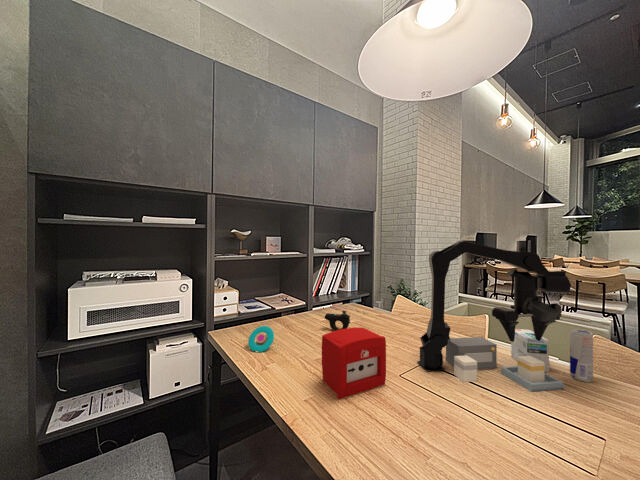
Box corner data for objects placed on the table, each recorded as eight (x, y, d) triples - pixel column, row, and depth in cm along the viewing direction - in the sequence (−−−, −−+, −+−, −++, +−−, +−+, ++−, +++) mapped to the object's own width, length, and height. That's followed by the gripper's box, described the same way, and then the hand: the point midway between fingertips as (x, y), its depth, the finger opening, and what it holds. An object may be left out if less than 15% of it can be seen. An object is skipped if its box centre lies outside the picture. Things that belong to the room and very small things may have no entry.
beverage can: (586, 376, 82) (586, 329, 82) (597, 384, 77) (597, 334, 78) (566, 373, 84) (566, 327, 84) (576, 381, 79) (575, 332, 79)
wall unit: (459, 371, 85) (459, 346, 85) (445, 360, 93) (445, 338, 93) (497, 368, 87) (497, 344, 87) (480, 358, 95) (480, 336, 95)
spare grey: (463, 382, 78) (463, 362, 78) (453, 374, 83) (453, 355, 83) (477, 381, 79) (477, 361, 79) (466, 373, 83) (466, 355, 84)
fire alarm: (340, 400, 69) (340, 344, 69) (321, 381, 78) (321, 332, 78) (386, 385, 76) (386, 335, 76) (364, 369, 86) (364, 324, 86)
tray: (531, 391, 73) (531, 384, 73) (500, 373, 84) (500, 366, 84) (563, 389, 75) (563, 382, 75) (529, 371, 85) (529, 365, 85)
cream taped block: (531, 383, 77) (531, 363, 77) (517, 375, 81) (517, 356, 81) (544, 382, 77) (544, 362, 77) (530, 374, 82) (530, 355, 82)
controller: (348, 334, 118) (348, 312, 118) (323, 331, 122) (323, 310, 123) (350, 331, 122) (351, 310, 122) (326, 328, 126) (326, 308, 127)
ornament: (280, 336, 106) (261, 326, 110) (278, 331, 103) (258, 321, 106) (265, 360, 100) (245, 349, 103) (263, 356, 97) (242, 345, 100)
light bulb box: (550, 372, 85) (550, 339, 85) (526, 370, 86) (526, 338, 86) (530, 358, 95) (530, 329, 95) (510, 356, 96) (510, 327, 97)
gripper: (521, 297, 72) (521, 352, 72) (579, 296, 74) (579, 350, 74) (490, 289, 83) (490, 338, 83) (542, 289, 85) (541, 336, 85)
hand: (525, 340), depth 81 cm, fingers open, 9 cm apart
